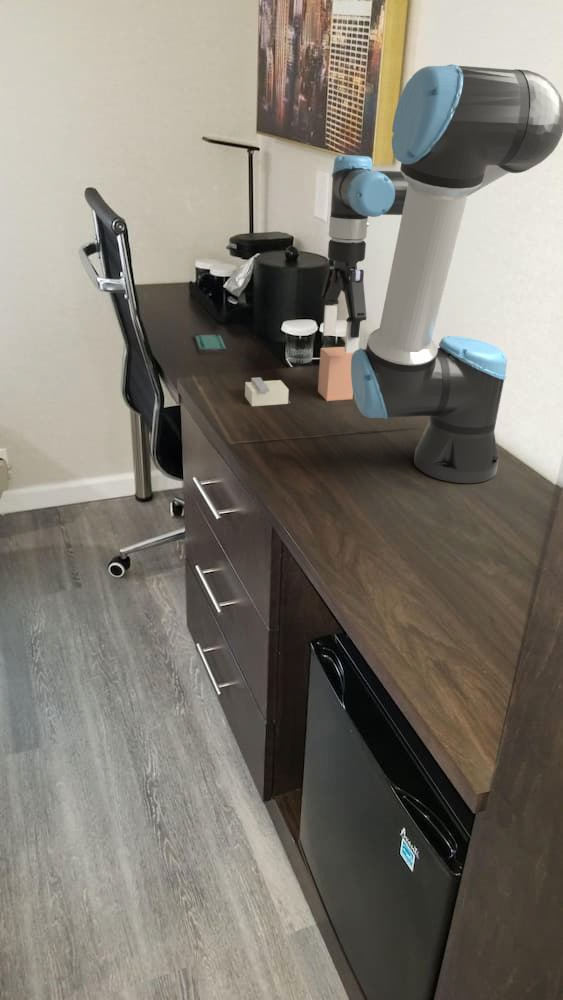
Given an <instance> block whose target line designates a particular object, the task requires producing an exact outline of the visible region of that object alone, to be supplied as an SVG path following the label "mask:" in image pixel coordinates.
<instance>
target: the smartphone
mask: <svg viewBox="0 0 563 1000" xmlns="http://www.w3.org/2000/svg"><path fill="white" fill-rule="evenodd" d="M193 338H194V341H195V343H196V344H195V345H196V346H197V347H196V348H197V350H198V352H199V354H201V355H210V354H211V355H212V354H213V355H215V354H217V355H218V354H220V355H221V354H228V349H227V346H226V343H225V341H224V339H223V337H222V335H221V334H220V333H211V334H210V333H205V334H204V333H203V334H202V333H201V334H198V333H197V334H193Z"/></svg>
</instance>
